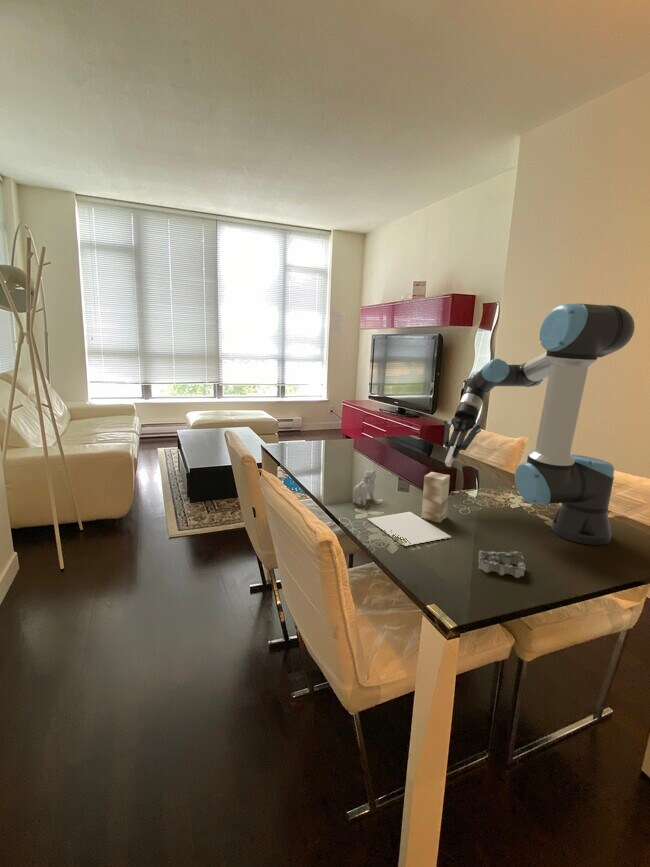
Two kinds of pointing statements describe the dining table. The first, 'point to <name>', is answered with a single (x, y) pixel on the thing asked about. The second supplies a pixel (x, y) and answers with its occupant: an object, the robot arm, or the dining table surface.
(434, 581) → the dining table surface
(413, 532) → the mat
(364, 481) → the dog figurine
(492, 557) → the egg carton
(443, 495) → the birch block
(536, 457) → the robot arm
